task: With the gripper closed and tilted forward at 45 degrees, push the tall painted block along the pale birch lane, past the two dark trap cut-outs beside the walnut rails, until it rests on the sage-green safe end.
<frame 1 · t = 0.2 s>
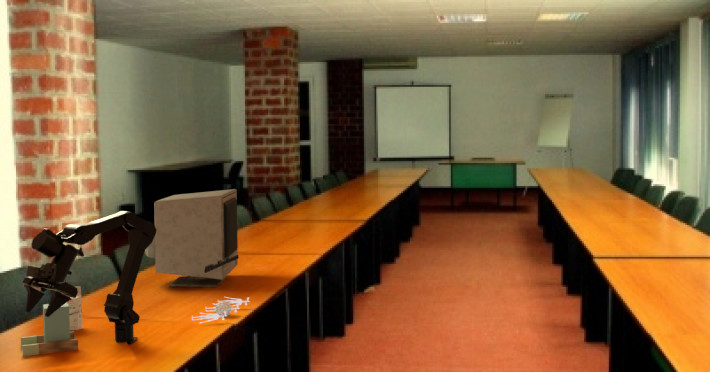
hand: (36, 314, 218), 15 cm above the table, tool tilted 35°, fingers open, 9 cm apart
ink cartridge box: (67, 331, 258), on the table
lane: (49, 350, 234), on the table
block: (57, 347, 235), point 1 cm above the table, touching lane
molecule model: (222, 317, 278), on the table
safe end: (29, 353, 232), on the table
crt monitor: (192, 283, 338), on the table
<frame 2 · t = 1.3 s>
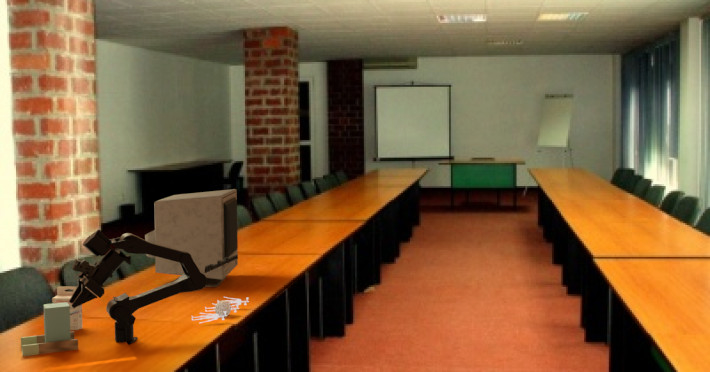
hand: (71, 304, 236), 14 cm above the table, tool tilted 45°, fingers open, 6 cm apart
nothing on the table moved.
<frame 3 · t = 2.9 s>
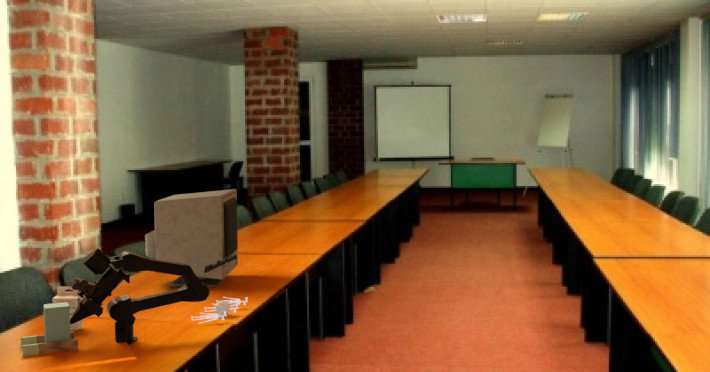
hand: (70, 323, 236), 8 cm above the table, tool tilted 45°, fingers closed, pressing on block
block: (57, 346, 235), point 1 cm above the table, touching gripper
everything else where it was.
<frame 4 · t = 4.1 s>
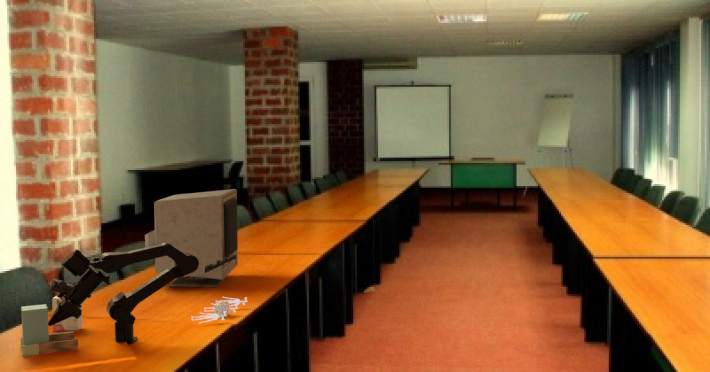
hand: (48, 325, 234), 8 cm above the table, tool tilted 45°, fingers closed, pressing on block
block: (36, 349, 233), point 1 cm above the table, touching gripper
everything else where it was.
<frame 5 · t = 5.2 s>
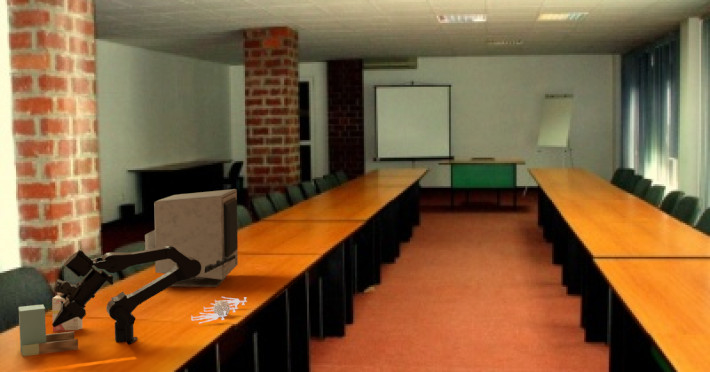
hand: (53, 325, 234), 8 cm above the table, tool tilted 45°, fingers closed
block: (33, 349, 232), point 1 cm above the table, touching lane, safe end
everything else where it was.
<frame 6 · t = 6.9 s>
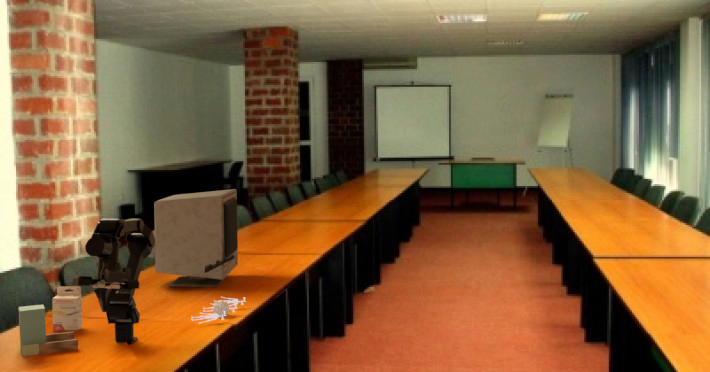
hand: (104, 311, 229), 13 cm above the table, tool pointing down, fingers closed
nothing on the table moved.
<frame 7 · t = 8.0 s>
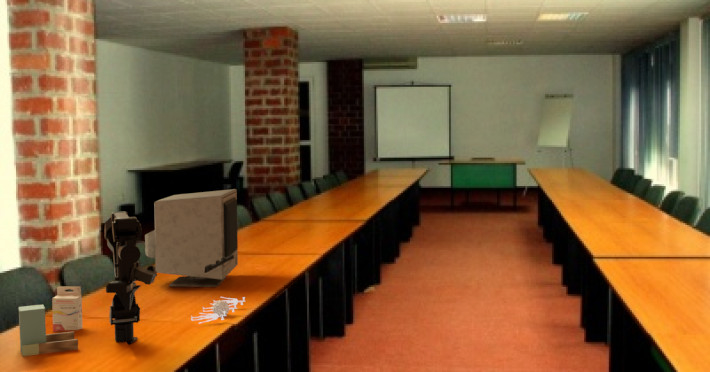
hand: (128, 310, 231), 13 cm above the table, tool pointing down, fingers closed
nothing on the table moved.
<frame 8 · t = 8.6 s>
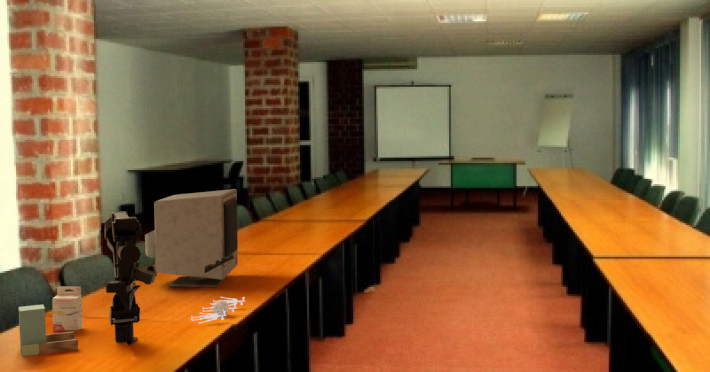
hand: (128, 310, 231), 13 cm above the table, tool pointing down, fingers closed
at the end: block 1.0 cm from the safe end (horizontally); block tilted 1°; block moved 6.7 cm from its start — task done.
